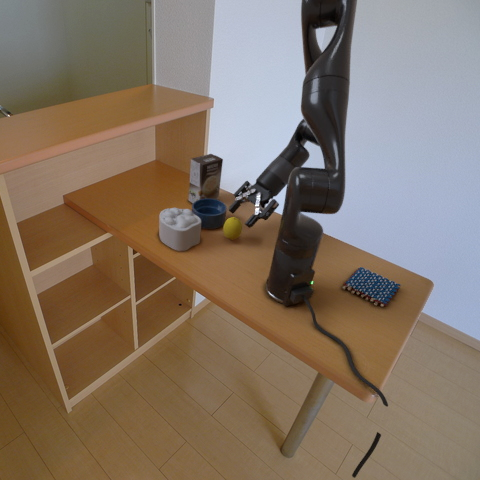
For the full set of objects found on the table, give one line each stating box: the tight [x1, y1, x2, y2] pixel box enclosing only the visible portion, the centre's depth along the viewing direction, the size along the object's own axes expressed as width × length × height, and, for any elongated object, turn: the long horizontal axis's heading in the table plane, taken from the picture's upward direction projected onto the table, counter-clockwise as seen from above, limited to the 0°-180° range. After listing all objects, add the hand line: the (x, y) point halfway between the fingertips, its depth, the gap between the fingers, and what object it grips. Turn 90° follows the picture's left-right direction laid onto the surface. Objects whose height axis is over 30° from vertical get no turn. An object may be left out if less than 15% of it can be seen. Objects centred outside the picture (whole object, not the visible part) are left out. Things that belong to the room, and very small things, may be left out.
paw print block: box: [158, 207, 202, 252], centre depth 109 cm, size 10×13×9 cm
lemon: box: [222, 216, 243, 241], centre depth 108 cm, size 6×6×8 cm
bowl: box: [191, 198, 228, 230], centre depth 117 cm, size 11×11×6 cm
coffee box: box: [188, 153, 224, 204], centre depth 125 cm, size 9×6×16 cm
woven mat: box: [342, 266, 402, 308], centre depth 91 cm, size 10×11×2 cm
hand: (238, 218), depth 107 cm, fingers open, 8 cm apart
